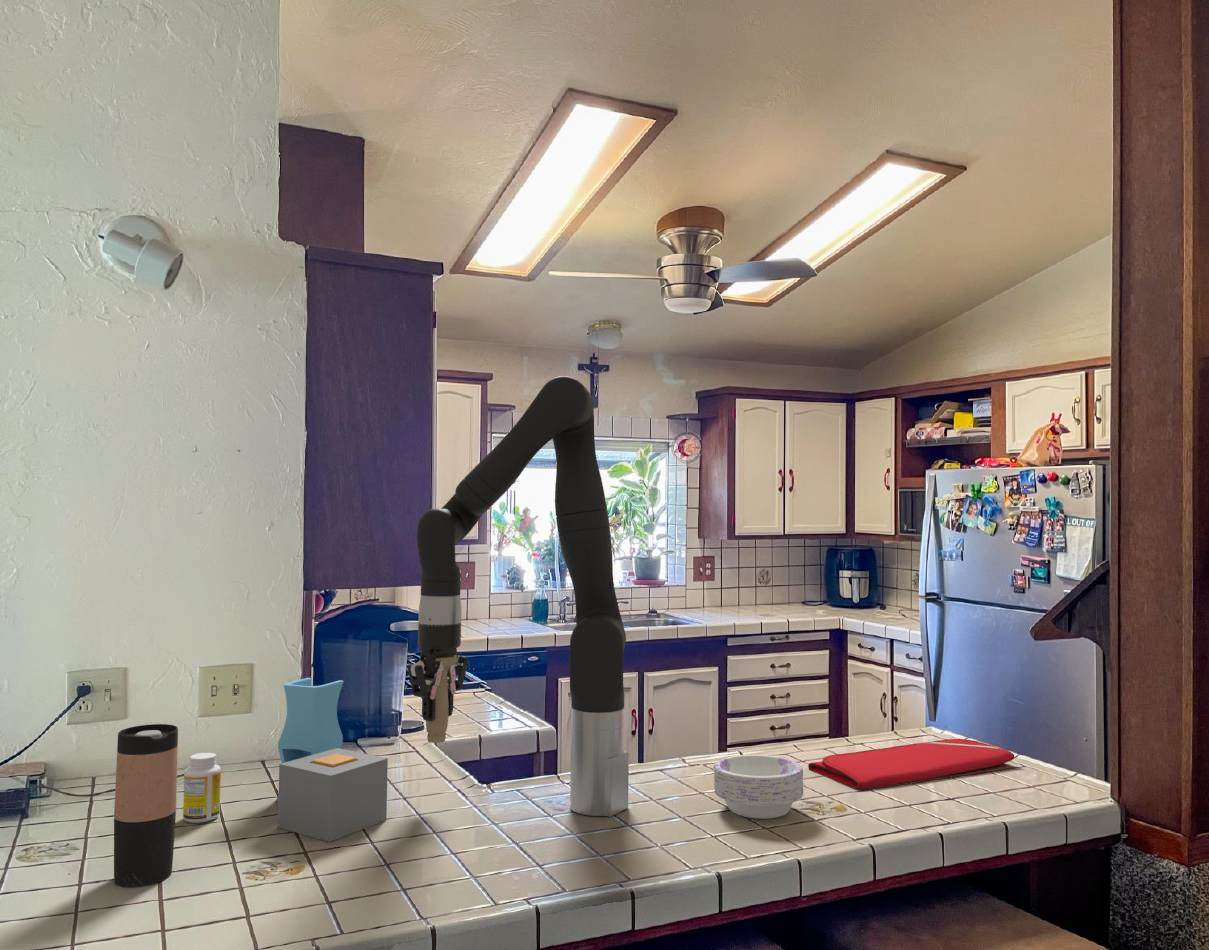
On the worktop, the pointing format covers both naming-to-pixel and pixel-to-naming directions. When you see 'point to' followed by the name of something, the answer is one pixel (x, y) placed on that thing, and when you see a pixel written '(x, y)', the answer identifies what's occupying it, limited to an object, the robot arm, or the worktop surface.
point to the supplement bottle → (202, 789)
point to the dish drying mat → (909, 762)
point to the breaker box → (332, 795)
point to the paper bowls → (758, 784)
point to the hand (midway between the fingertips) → (437, 717)
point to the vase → (310, 720)
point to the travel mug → (145, 804)
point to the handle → (440, 704)
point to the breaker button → (334, 760)
